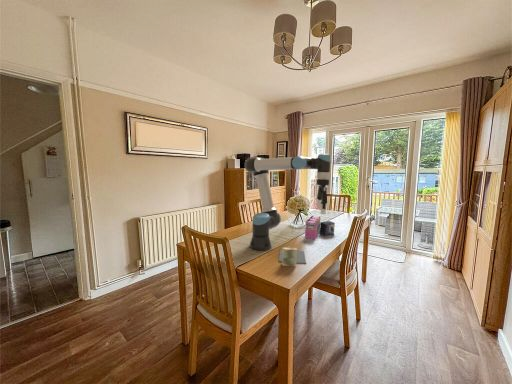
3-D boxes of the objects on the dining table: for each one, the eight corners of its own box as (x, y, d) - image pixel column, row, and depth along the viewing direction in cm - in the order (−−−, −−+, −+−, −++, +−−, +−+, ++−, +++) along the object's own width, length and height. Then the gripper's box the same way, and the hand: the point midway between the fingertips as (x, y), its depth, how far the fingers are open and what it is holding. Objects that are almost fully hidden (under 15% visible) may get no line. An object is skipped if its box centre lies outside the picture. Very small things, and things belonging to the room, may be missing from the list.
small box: (324, 236, 177) (325, 223, 175) (319, 234, 182) (320, 222, 181) (334, 234, 181) (335, 222, 180) (328, 232, 187) (329, 220, 186)
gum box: (311, 230, 193) (312, 215, 192) (320, 231, 190) (321, 216, 188) (304, 237, 172) (305, 221, 171) (314, 239, 169) (315, 222, 167)
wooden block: (281, 265, 124) (282, 249, 123) (282, 263, 126) (282, 247, 125) (295, 266, 123) (296, 250, 122) (295, 264, 125) (296, 248, 124)
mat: (278, 261, 129) (278, 260, 128) (280, 250, 146) (280, 249, 146) (306, 264, 126) (306, 263, 126) (303, 251, 144) (303, 251, 144)
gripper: (334, 180, 123) (331, 216, 126) (324, 177, 148) (323, 207, 151) (320, 180, 124) (318, 215, 127) (313, 177, 149) (312, 207, 151)
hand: (320, 211), depth 139 cm, fingers open, 13 cm apart
